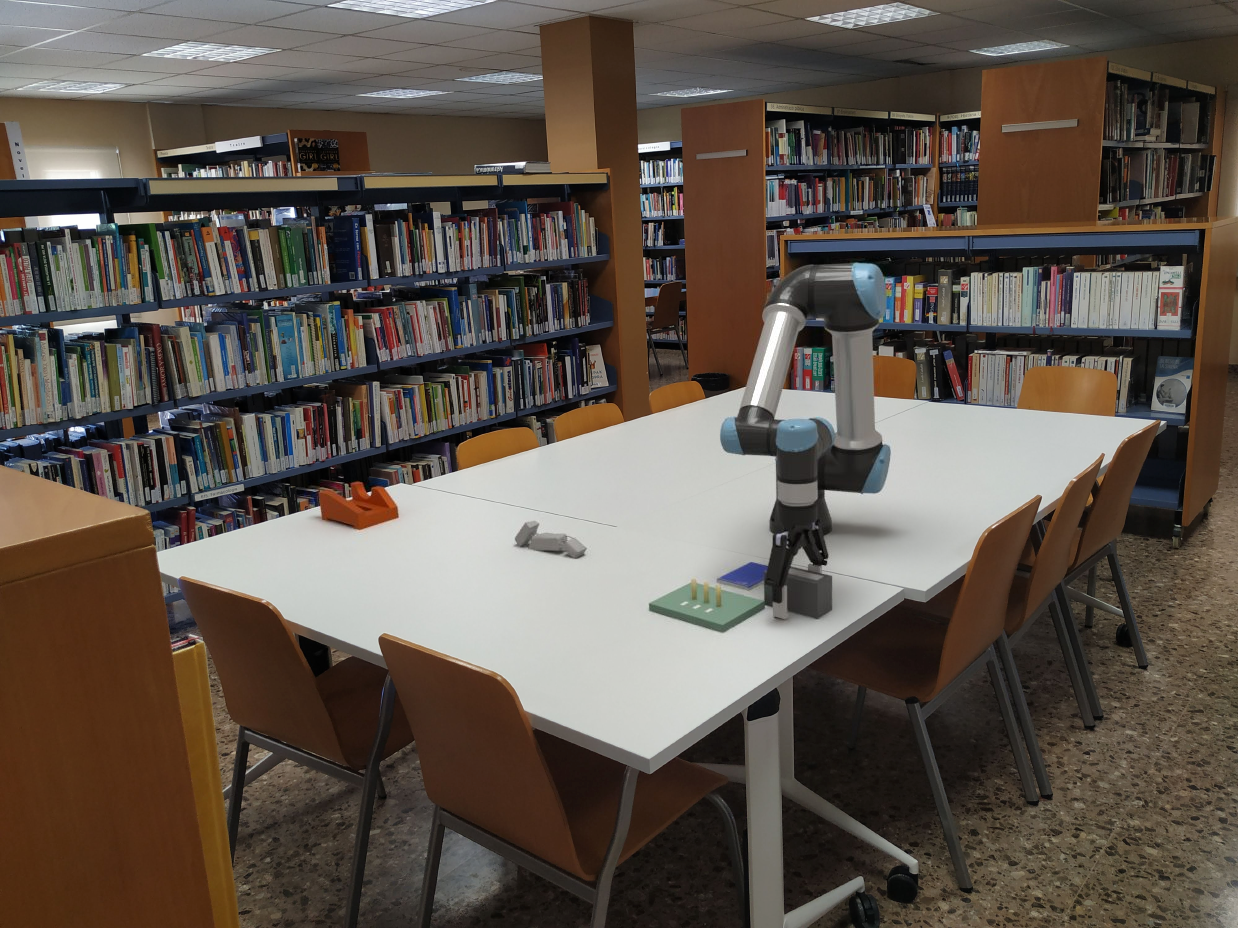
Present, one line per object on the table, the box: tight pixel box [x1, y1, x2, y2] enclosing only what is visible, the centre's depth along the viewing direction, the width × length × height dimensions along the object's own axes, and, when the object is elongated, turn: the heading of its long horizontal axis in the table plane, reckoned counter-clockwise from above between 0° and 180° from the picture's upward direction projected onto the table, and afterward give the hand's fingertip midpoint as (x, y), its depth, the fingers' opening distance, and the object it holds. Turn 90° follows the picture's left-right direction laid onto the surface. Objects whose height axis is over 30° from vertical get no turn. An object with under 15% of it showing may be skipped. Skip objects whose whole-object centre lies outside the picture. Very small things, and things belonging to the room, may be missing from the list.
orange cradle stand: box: [317, 481, 399, 531], centre depth 257 cm, size 18×13×8 cm
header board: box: [648, 578, 766, 633], centre depth 183 cm, size 14×18×6 cm
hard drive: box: [716, 561, 768, 592], centre depth 199 cm, size 2×8×12 cm
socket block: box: [763, 565, 833, 620], centre depth 182 cm, size 5×12×7 cm, turn 48°
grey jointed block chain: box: [514, 520, 588, 559], centre depth 223 cm, size 20×4×7 cm, turn 53°
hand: (797, 606), depth 183 cm, fingers open, 12 cm apart
